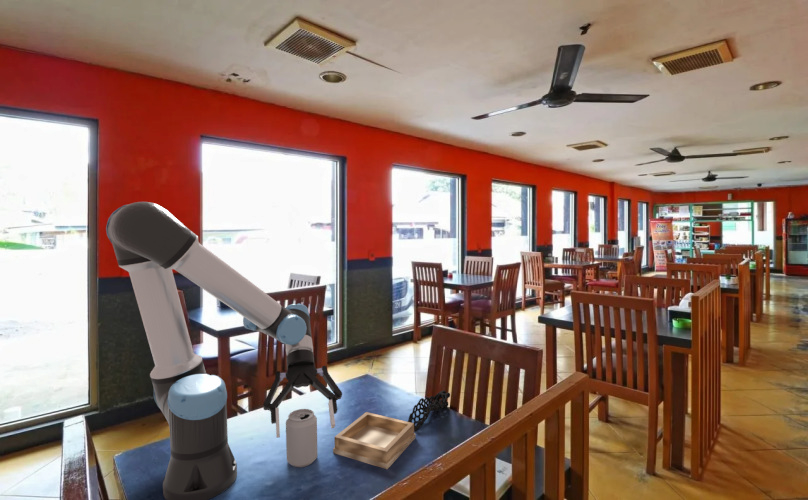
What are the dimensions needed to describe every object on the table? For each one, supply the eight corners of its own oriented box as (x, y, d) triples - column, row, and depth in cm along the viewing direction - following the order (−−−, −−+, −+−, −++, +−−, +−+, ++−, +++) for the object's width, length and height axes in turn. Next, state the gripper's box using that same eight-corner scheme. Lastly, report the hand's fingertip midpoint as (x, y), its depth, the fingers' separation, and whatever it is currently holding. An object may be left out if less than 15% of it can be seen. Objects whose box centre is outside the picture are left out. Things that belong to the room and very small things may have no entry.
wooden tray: (333, 452, 104) (332, 437, 104) (366, 425, 118) (365, 411, 118) (387, 469, 97) (387, 452, 96) (415, 437, 111) (415, 423, 111)
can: (307, 471, 96) (306, 423, 95) (280, 465, 98) (279, 418, 98) (323, 454, 103) (322, 409, 102) (298, 449, 106) (296, 405, 105)
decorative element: (419, 435, 113) (419, 414, 113) (403, 430, 116) (404, 410, 115) (452, 404, 132) (452, 387, 132) (438, 400, 135) (438, 383, 134)
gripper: (341, 355, 122) (352, 427, 109) (253, 365, 113) (254, 444, 100) (344, 343, 116) (356, 417, 103) (252, 353, 108) (253, 434, 95)
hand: (306, 431), depth 102 cm, fingers open, 13 cm apart
